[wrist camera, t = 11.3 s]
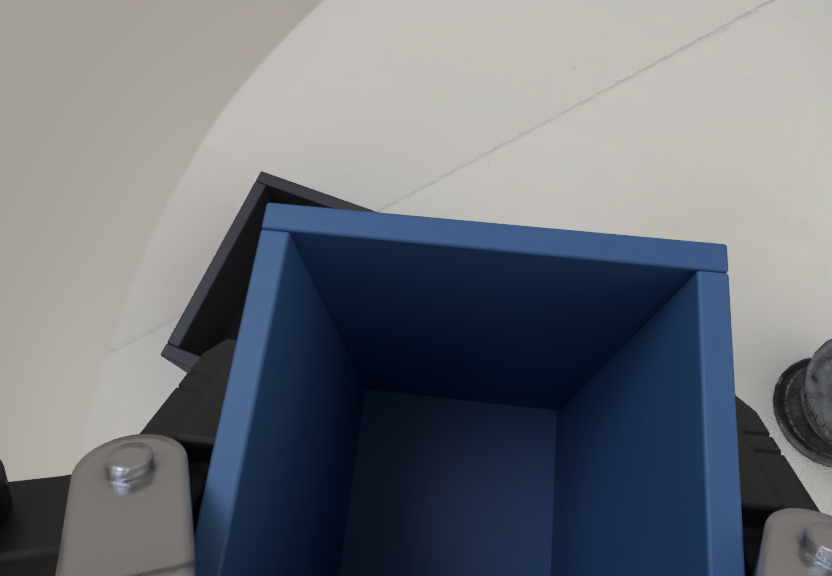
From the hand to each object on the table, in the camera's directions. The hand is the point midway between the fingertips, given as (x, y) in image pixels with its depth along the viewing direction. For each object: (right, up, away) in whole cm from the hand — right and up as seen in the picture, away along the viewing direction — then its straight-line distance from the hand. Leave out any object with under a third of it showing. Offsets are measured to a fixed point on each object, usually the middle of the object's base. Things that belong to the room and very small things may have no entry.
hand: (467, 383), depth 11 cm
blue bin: (0, -4, +6) cm, 7 cm away
